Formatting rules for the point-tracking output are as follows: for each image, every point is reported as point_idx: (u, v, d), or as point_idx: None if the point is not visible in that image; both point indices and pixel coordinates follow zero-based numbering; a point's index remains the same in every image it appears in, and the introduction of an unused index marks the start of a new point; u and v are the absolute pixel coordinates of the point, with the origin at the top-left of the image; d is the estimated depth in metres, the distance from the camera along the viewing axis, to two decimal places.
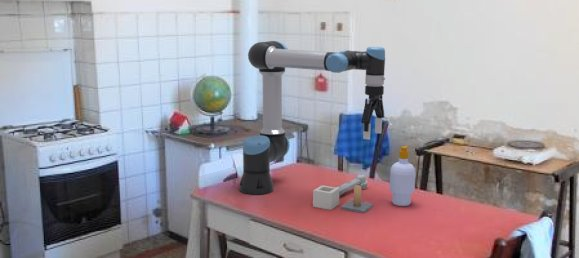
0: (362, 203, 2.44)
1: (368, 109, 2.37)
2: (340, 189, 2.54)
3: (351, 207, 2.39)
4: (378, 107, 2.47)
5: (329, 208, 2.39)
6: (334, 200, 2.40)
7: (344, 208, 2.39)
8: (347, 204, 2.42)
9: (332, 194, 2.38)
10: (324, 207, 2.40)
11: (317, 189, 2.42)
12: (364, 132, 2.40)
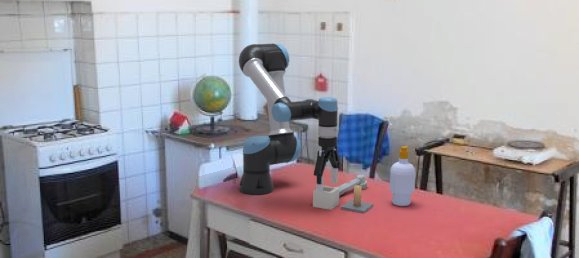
0: (362, 203, 2.44)
1: (320, 162, 2.32)
2: (340, 189, 2.54)
3: (351, 207, 2.39)
4: (332, 158, 2.42)
5: (329, 208, 2.39)
6: (334, 200, 2.40)
7: (344, 208, 2.39)
8: (347, 204, 2.42)
9: (332, 194, 2.38)
10: (324, 207, 2.40)
11: None
12: (317, 185, 2.36)
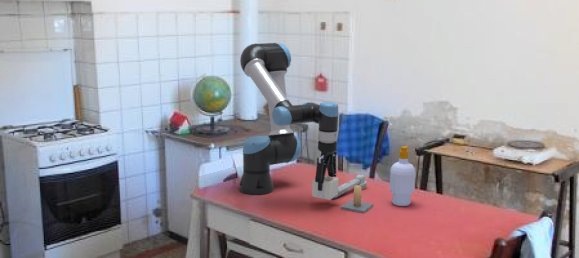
0: (362, 203, 2.44)
1: (320, 169, 2.34)
2: (340, 189, 2.54)
3: (351, 207, 2.39)
4: (330, 163, 2.42)
5: (328, 198, 2.38)
6: (333, 190, 2.40)
7: (344, 208, 2.39)
8: (347, 204, 2.42)
9: (331, 184, 2.38)
10: None
11: None
12: (318, 191, 2.39)
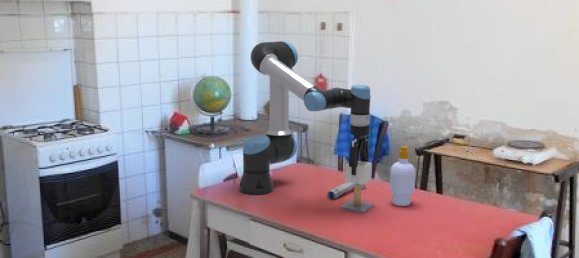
0: (362, 203, 2.44)
1: (354, 153, 2.30)
2: (340, 189, 2.54)
3: (351, 207, 2.39)
4: (363, 148, 2.38)
5: (362, 182, 2.34)
6: (367, 174, 2.36)
7: (344, 208, 2.39)
8: (347, 204, 2.42)
9: (365, 168, 2.34)
10: None
11: None
12: (351, 176, 2.35)
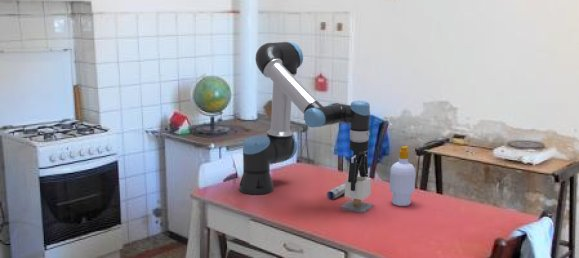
0: (362, 203, 2.44)
1: (353, 169, 2.32)
2: (340, 189, 2.54)
3: (351, 207, 2.39)
4: (362, 163, 2.39)
5: (361, 198, 2.35)
6: (366, 190, 2.37)
7: (344, 208, 2.39)
8: (347, 204, 2.42)
9: (364, 184, 2.35)
10: None
11: None
12: (351, 191, 2.36)
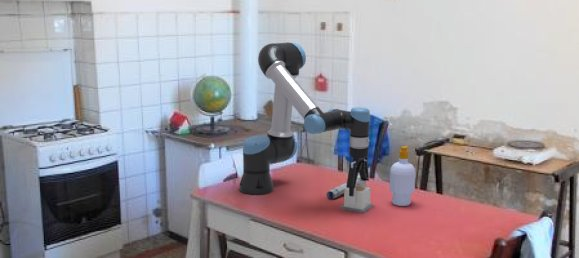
0: None
1: (352, 174, 2.32)
2: (339, 189, 2.54)
3: None
4: (363, 169, 2.40)
5: (361, 208, 2.36)
6: (365, 200, 2.38)
7: (344, 208, 2.39)
8: None
9: (364, 194, 2.36)
10: (356, 207, 2.37)
11: (348, 189, 2.39)
12: (349, 196, 2.36)
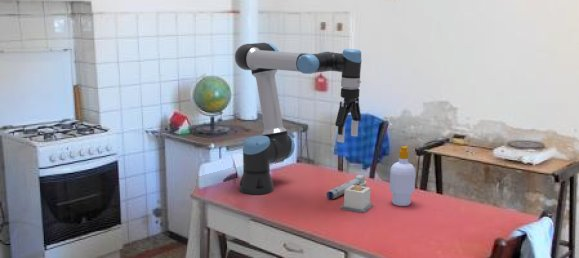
0: None
1: (342, 112, 2.35)
2: (339, 189, 2.54)
3: None
4: (354, 110, 2.44)
5: (361, 208, 2.36)
6: (365, 200, 2.38)
7: (344, 208, 2.39)
8: None
9: (364, 194, 2.36)
10: (356, 207, 2.37)
11: (348, 189, 2.39)
12: (338, 135, 2.38)
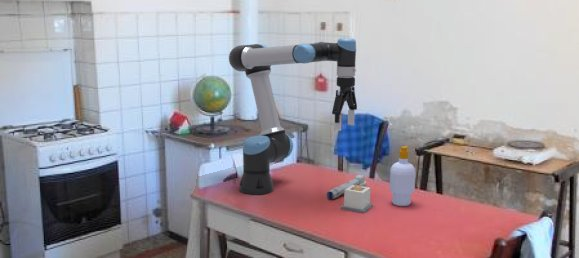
0: None
1: (339, 100, 2.37)
2: (339, 189, 2.54)
3: None
4: (350, 99, 2.47)
5: (361, 208, 2.36)
6: (365, 200, 2.38)
7: (344, 208, 2.39)
8: None
9: (364, 194, 2.36)
10: (356, 207, 2.37)
11: (348, 189, 2.39)
12: (335, 123, 2.41)
